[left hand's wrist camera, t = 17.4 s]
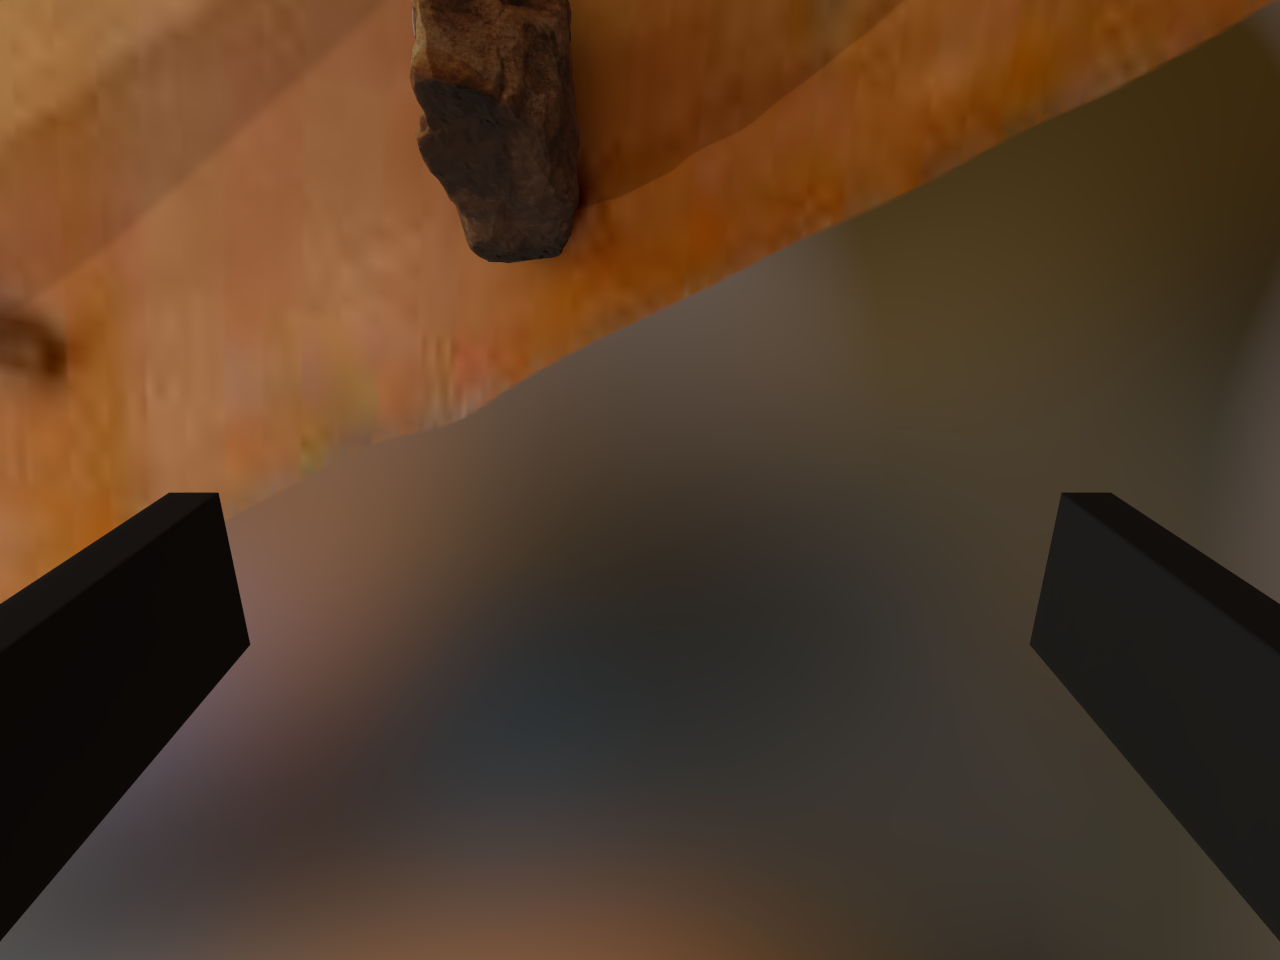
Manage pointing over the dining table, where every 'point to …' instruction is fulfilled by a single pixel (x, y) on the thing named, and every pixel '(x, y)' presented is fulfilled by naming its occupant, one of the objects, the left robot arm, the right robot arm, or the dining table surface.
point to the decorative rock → (500, 120)
